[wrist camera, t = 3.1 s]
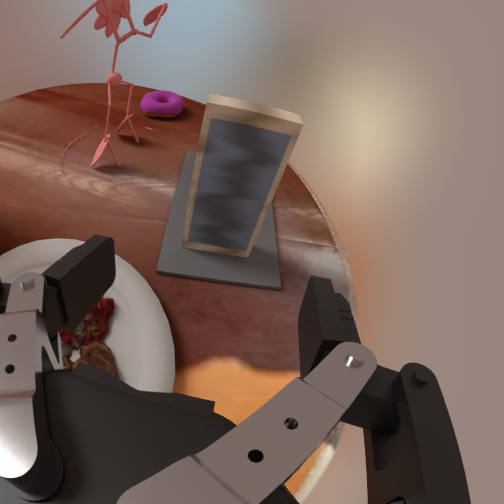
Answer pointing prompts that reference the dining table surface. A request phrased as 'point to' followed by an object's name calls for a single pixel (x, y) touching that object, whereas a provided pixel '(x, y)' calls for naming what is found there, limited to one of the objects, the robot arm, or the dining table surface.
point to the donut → (162, 104)
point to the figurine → (110, 12)
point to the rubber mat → (210, 263)
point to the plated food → (109, 321)
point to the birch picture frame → (236, 173)
